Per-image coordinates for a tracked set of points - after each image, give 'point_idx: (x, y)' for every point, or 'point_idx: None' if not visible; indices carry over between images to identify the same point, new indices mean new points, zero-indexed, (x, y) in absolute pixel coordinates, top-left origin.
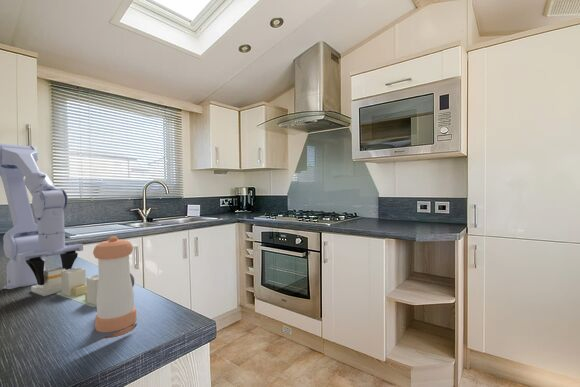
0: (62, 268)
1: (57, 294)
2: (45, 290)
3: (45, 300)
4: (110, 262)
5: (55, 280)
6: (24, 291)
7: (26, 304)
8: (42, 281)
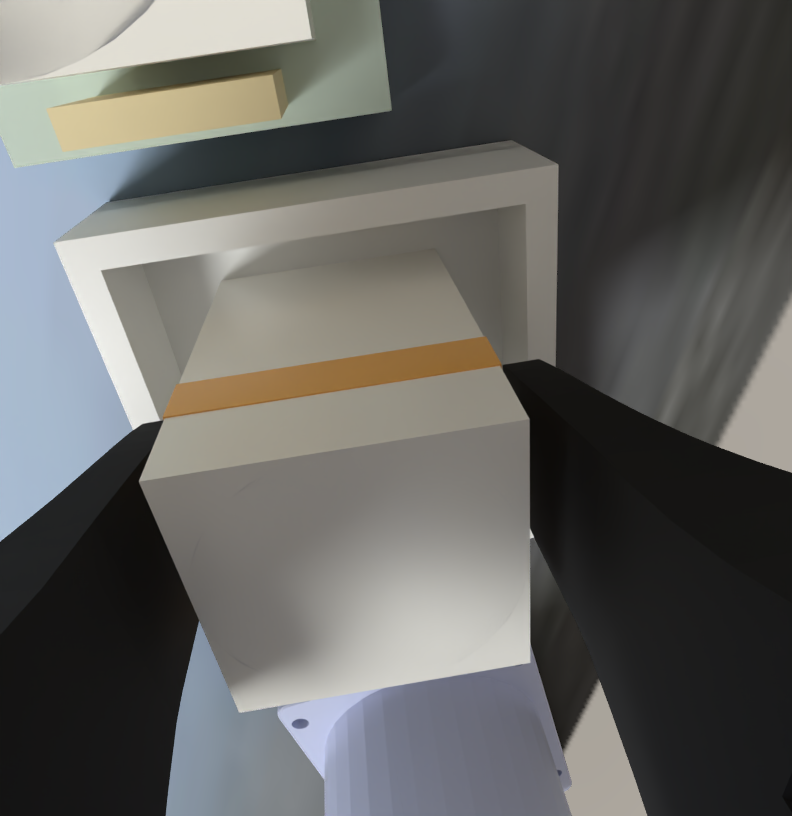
0: (199, 532)
1: (382, 34)
2: (530, 165)
3: (497, 129)
4: None
5: (362, 332)
6: None
7: (674, 172)
8: (547, 377)
